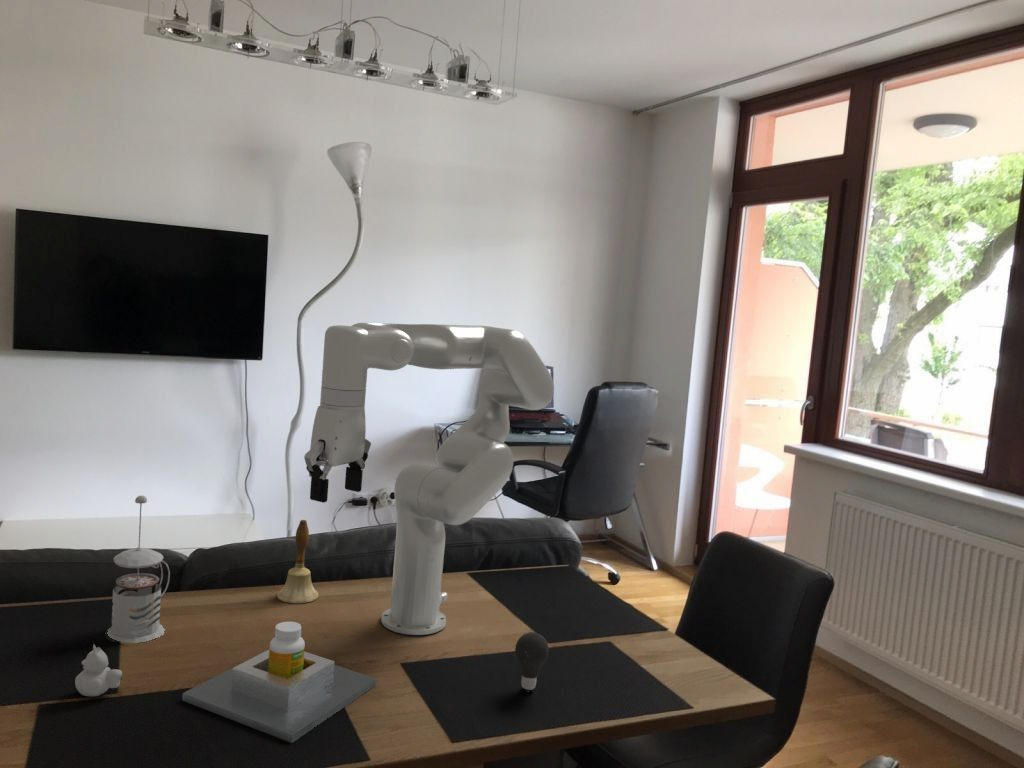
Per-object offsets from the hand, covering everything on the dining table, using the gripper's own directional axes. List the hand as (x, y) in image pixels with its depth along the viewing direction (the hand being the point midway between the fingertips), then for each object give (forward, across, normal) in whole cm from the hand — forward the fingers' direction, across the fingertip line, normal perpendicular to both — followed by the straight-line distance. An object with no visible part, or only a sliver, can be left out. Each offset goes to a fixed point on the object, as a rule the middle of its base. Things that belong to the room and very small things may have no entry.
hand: (336, 495), depth 147 cm
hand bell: (+29, -17, -20) cm, 39 cm away
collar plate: (+28, +16, +4) cm, 33 cm away
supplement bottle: (+27, +16, +4) cm, 32 cm away
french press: (+28, +13, -31) cm, 44 cm away
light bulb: (+28, -8, +36) cm, 47 cm away
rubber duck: (+29, +32, -18) cm, 47 cm away
